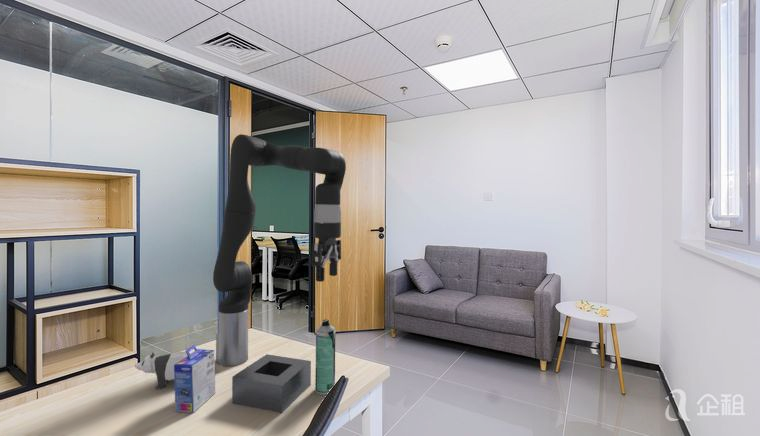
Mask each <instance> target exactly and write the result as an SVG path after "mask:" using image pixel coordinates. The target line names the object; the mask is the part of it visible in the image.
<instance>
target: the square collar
mask: <svg viewBox="0 0 760 436" xmlns="http://www.w3.org/2000/svg"><path fill="white" fill-rule="evenodd" d="M311 374H312V361H311V360H308V359H300V358H293V357H286V356H281V355H274V354H273V355H272V354H265V355H263V356H262V357H260V358H259V359H257V360H255V361H254V362H252V363H251V364H249V365H248V366H246V367H244V368H243V369H242V370H240V371H239V372H237V373H235V374H234V375H233V376H232V379H231V382H232V383H231V390H232V391H231V396H232V398H231V403H232V404H236V405H241V406H245V407H249V408H255V409H260V410H265V411H270V412H275V413H279V414H283V413H284V412H285V411H286V410H287V409H288V408H289V407H290V406H291V405H292V404H293V403H294V402H295V401H297V399H298V398H299V397H300V396H301V395H302V394H303V393H304V392H305V391H307V389H309V387H310V386H311V383H312V382H311V381H312V379H311V377H312V375H311Z"/></svg>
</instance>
